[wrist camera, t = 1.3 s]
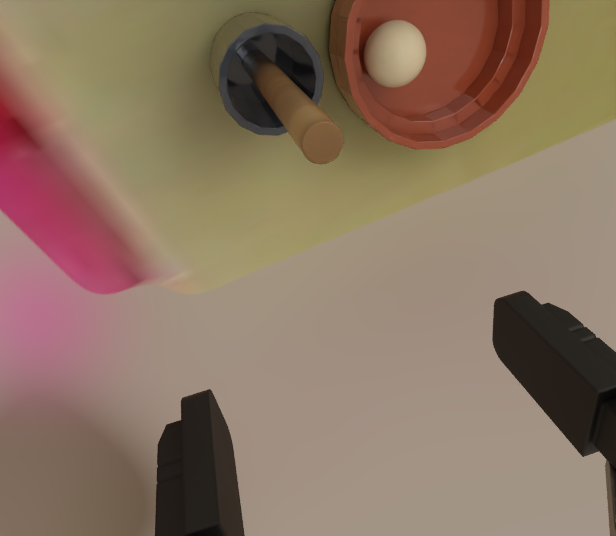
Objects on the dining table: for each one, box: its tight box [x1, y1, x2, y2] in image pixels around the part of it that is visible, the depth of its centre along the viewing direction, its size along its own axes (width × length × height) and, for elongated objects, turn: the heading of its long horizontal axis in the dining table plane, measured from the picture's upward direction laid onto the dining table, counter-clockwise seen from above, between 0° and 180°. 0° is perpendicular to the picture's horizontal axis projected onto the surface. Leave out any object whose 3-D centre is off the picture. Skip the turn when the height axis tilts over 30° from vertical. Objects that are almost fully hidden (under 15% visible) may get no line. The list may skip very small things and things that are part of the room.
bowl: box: [329, 0, 549, 149], centre depth 34 cm, size 15×15×4 cm
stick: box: [244, 50, 344, 164], centre depth 27 cm, size 2×2×18 cm
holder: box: [210, 12, 324, 136], centre depth 31 cm, size 6×6×7 cm
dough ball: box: [364, 20, 426, 88], centre depth 34 cm, size 4×4×4 cm
